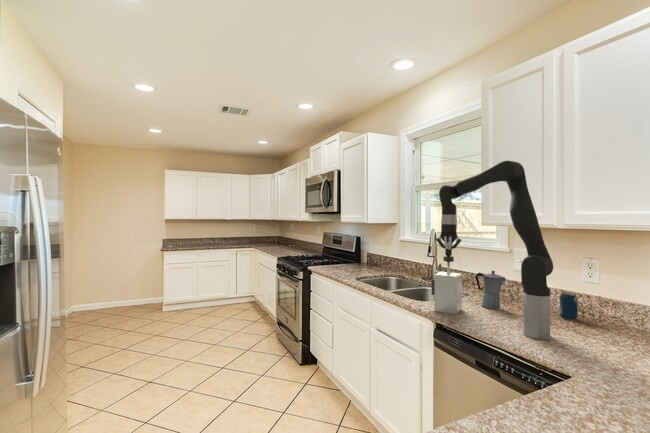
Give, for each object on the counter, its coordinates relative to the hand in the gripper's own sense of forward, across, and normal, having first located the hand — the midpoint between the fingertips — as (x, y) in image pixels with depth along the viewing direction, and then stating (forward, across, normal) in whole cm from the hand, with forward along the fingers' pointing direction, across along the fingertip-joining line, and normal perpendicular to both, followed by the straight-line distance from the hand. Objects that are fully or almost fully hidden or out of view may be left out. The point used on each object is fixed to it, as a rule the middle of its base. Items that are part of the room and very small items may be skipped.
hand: (448, 256), depth 167 cm
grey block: (+28, -2, 0) cm, 28 cm away
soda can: (+28, +51, +21) cm, 62 cm away
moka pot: (+28, +17, +20) cm, 39 cm away
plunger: (+21, 0, 0) cm, 21 cm away
